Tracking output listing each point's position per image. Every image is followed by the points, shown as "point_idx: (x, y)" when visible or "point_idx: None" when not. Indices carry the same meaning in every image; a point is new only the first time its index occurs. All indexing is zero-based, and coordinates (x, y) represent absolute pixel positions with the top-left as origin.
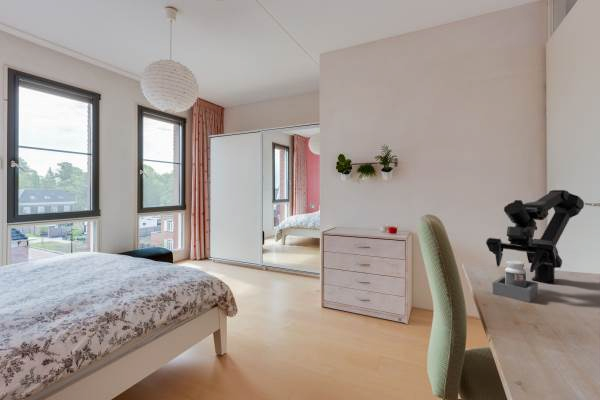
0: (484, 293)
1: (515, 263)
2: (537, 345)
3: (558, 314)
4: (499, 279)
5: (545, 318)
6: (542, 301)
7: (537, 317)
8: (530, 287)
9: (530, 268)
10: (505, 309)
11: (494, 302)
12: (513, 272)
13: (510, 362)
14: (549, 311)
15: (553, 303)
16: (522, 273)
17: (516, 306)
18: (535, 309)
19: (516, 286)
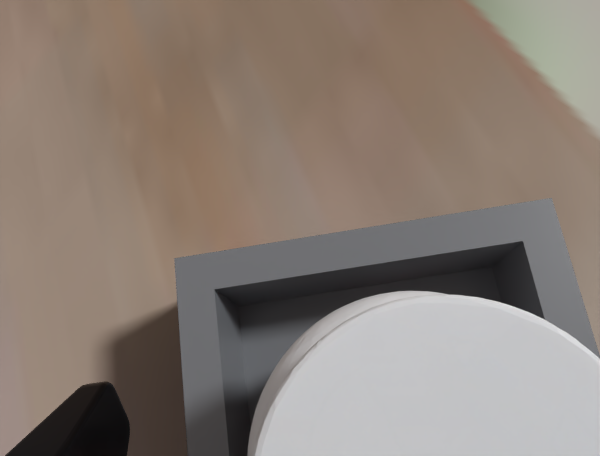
0: (551, 184)
1: (373, 337)
2: None
3: (5, 209)
4: None
5: (51, 70)
6: (150, 419)
7: (88, 45)
8: (196, 365)
9: (89, 405)
10: (265, 3)
11: (376, 58)
12: (374, 297)
13: None
14: (58, 216)
15: None
16: (266, 388)
17: (242, 115)
18: (135, 171)
19: (309, 269)
